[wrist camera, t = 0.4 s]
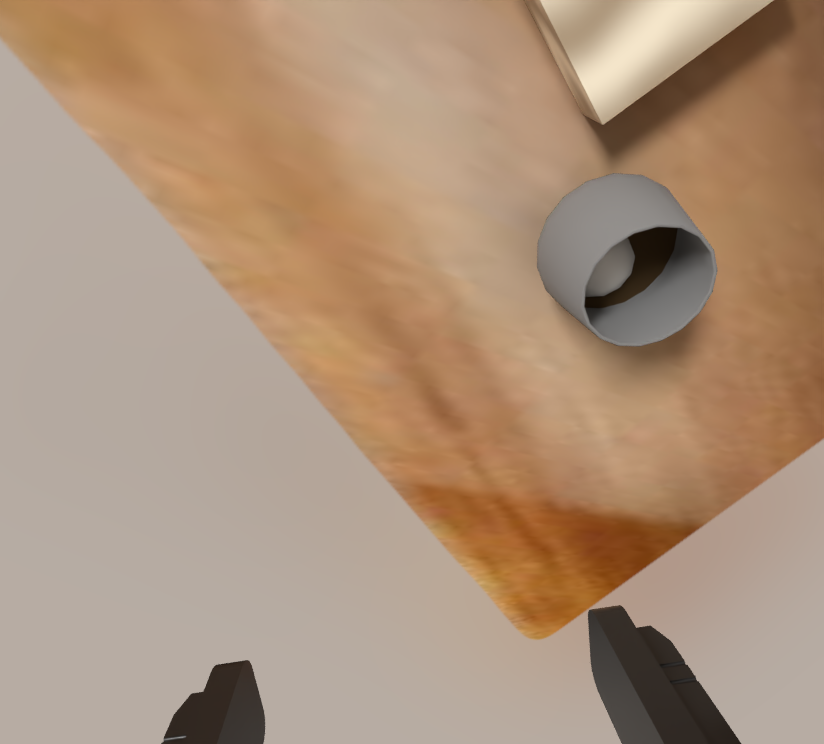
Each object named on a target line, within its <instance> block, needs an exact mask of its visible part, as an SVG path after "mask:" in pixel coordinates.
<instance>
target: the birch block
mask: <svg viewBox="0 0 824 744" xmlns="http://www.w3.org/2000/svg"><path fill="white" fill-rule="evenodd" d="M524 1H525V3H526V5H527V7H528V9H529V11H530V13H531V15H532V17H533V19H534V21H535V23H536V25H537V26H538V28H539V30H540V32H541V34H542V36H543V38H544V40H545V42H546V44H547V46H548V48H549V50H550V52H551V53H552V55H553V57H554V59H555V61H556V63H557V65H558V67H559V69H560V71H561V73H562V75H563V77H564V79H565V81H566V82H567V84H568V86H569V88H570V90H571V92H572V94H573V96H574V98H575V100H576V102H577V104H578V106H579V108H580V109H581V111H582V113H583V115H585V116H587V117H589V118H590V119H592V120H594V121H596V122H598V123H600V124H602V125H604V124H605V123H606V122H608V121H609V120H610V119H612V118H613V117H615V116H616V115H617V114H619V113H620V112H621V111H623V110H624V109H625V108H627V107H628V106H630V105H631V104H632V103H634V102H635V101H636V100H638V99H639V98H641V97H642V96H643V95H645V94H646V93H647V92H649V91H650V90H651V89H653V88H654V87H656V86H657V85H658V84H660V83H661V82H662V81H664V80H665V79H667V78H668V77H669V76H671V75H672V74H673V73H675V72H676V71H678V70H679V69H680V68H682V67H683V66H684V65H686V64H687V63H688V62H690V61H691V60H693V59H694V58H695V57H697V56H698V55H699V54H701V53H702V52H704V51H705V50H706V49H708V48H709V47H710V46H712V45H713V44H714V43H716V42H717V41H719V40H720V39H721V38H723V37H724V36H725V35H727V34H728V33H730V32H731V31H732V30H734V29H735V28H736V27H738V26H739V25H740V24H742V23H743V22H745V21H746V20H747V19H749V18H750V17H751V16H753V15H754V14H756V13H757V12H758V11H760V10H761V9H762V8H764V7H765V6H766V5H768V4H769V3H771V2H772V1H773V0H524Z"/></svg>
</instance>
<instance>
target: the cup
mask: <svg viewBox="0 0 824 744" xmlns="http://www.w3.org/2000/svg"><path fill="white" fill-rule="evenodd" d="M537 268H538V271H539V274H540V276H541V279H542V281H543V284H544V287H545V289H546V291H547V292H548V293H549V294H550V295H551V296H552V297H553V298H554V299H555V300H556V301H557V302H558V303H559V304H560V305H561V306H562V307H563V308H564V309H566V310H567V311H568V312H569V313H570V314H571V315H573V316H574V317H575V318H576V319H577V320H579V321H580V322H581V323H582V324H583V325H585V326H586V327H587V328H588V329H589V330H590V331H592V332H593V333H594V334H595V335H596V336H598V337H599V338H600V339H602V340H605V341H607V342H610V343H612V344H615V345H617V346H643V345H647V344H651V343H654V342H658V341H662V340H663V339H665V338H667V337H669V336H671V335H672V334H674V333H676V332H678V331H680V330H681V329H683V328H684V327H685V326H686V325H687V324H688V323H689V322H690V321H691V320H692V319H693V318H694V317H696V316H697V315H698V314H699V313H700V312H701V310H702V308H703V307H704V305H705V303H706V302H707V300H708V298H709V297H710V295H711V293H712V292H713V287H714V283H715V279H716V274H717V265H716V259H715V253H714V249H713V248H712V247H711V245H710V244H709V243H708V241H707V240H706V239H705V237H704V236H703V235H702V233H701V232H700V231H699V229H698V228H697V227H696V225H695V224H694V223H693V221H692V220H691V219H690V217H689V216H688V215H687V213H686V212H685V211H684V209H683V208H682V207H681V206H680V204H679V203H678V202H677V200H676V199H675V198H674V196H673V195H672V194H671V192H670V191H669V190H668V189H667V188H666V187H665V186H663V185H661V184H659V183H657V182H655V181H653V180H651V179H649V178H647V177H645V176H643V175H633V174H617V173H613V174H610V175H606V176H603V177H600V178H596V179H593V180H590V181H587V182H585V183H584V184H582V185H581V186H579V187H578V188H576V189H575V190H573V191H572V192H570V193H569V194H568V195H566V196H565V197H563V199H562V200H561V201H560V202H559V204H558V205H557V206H556V207H555V209H554V210H553V211H552V212H551V214H550V215H549V216H548V217H547V220H546V222H545V225H544V227H543V230H542V232H541V235H540V238H539V240H538V250H537Z"/></svg>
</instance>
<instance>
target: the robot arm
mask: <svg viewBox="0 0 824 744" xmlns="http://www.w3.org/2000/svg"><path fill="white" fill-rule="evenodd" d="M588 623H589V640H590V657H591V667H592V672H593V676H594V680H595V683H596V687H597V689H598V692H599V694H600V697H601V699H602V701H603V703H604V705H605V708H606V710H607V712H608V714H609V716H610V719H611V721H612V723H613V725H614V727H615V729H616V732H617V734H618V736H619V738H620V740H621V743H622V744H741V743H740V741H739V740H738V738H737V737H736V735H735V734H734V732H733V731H732V729H731V728H730V726H729V725H728V724H727V722H726V721H725V719H724V718H723V716H722V715H721V714H720V712H719V710H718V709H717V708H716V706H715V705H714V703H713V702H712V700H711V699H710V697H709V696H708V694H707V693H706V691H705V690H704V689H703V687H702V686H701V684H700V683H699V682H698V681H697V680H696V677H695V676H694V674H693V673H692V671H691V670H690V668H689V667H688V665H686V664H685V662H684V659H683V658H682V656H681V655H680V654H679V652H678V651H677V649H676V648H675V646H674V645H673V643H672V642H671V641H670V640H669V639H667V638H666V637H665V636H663V635H662V634H661V633H660V632H658V631H657V630H656V629H654V628H653V627H652V626H645V627H639V628H636V627H635V625H634V623H633V622H632V620H631V619H630V617H629V616H628V614H627V612H626V611H625V609H624V608H623V607H622V606H620V605H619V606H612V607H605V608H599V609H592V610H589V612H588ZM264 735H265V716H264V710H263V706H262V702H261V698H260V695H259V691H258V687H257V684H256V680H255V676H254V672H253V669H252V665H251V663H250V662H249V661H248V660H245V661H239V662H233V663H226V664H219V665H216V666H214V668H213V669H212V672H211V674H210V676H209V679H208V682H207V684H206V687H205V689H204V692H199V693H193V694H191V695H190V696H189V697H188V699H187V700H186V701H185V702H184V703H183V705H182V706H181V707H180V708H179V709H178V711H177V712H176V713H175V714H174V716H173V718H172V721H171V723H170V725H169V727H168V730H167V732H166V734H165V736H164V742H163V743H161V744H263V742H264Z"/></svg>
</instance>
